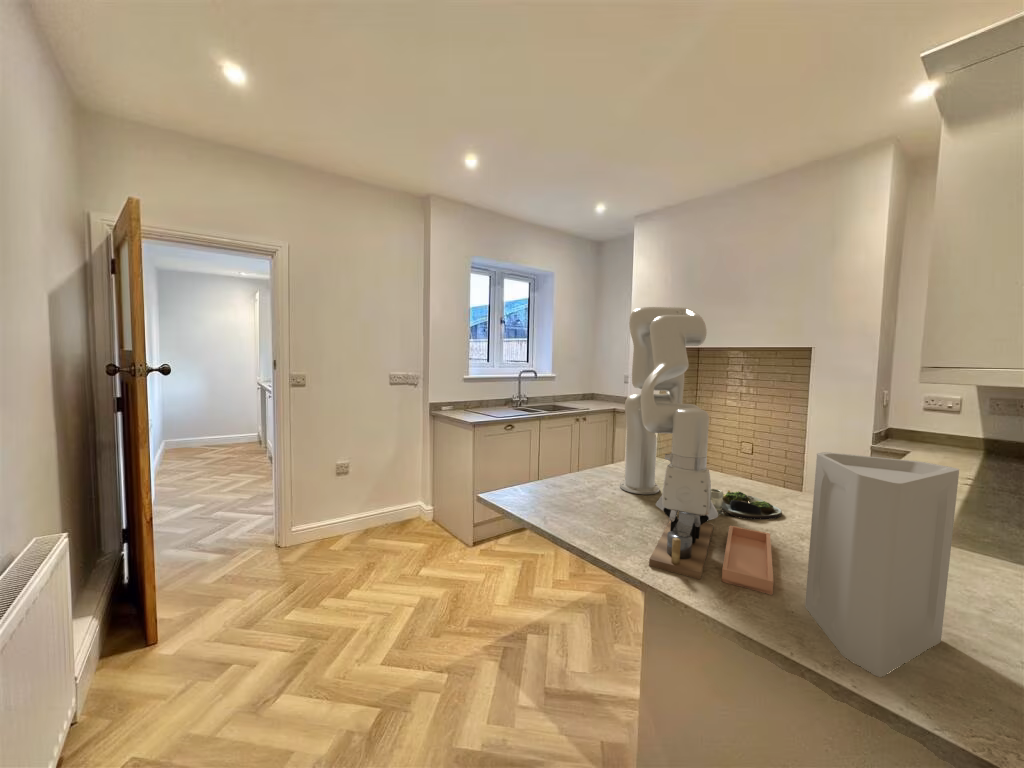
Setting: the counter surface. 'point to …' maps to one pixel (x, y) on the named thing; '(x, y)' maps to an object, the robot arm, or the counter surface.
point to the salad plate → (748, 507)
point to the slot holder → (748, 560)
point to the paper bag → (880, 556)
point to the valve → (717, 499)
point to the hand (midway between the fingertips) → (684, 537)
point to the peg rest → (674, 563)
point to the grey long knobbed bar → (682, 535)
